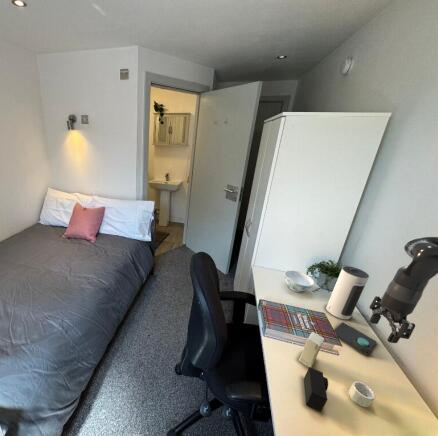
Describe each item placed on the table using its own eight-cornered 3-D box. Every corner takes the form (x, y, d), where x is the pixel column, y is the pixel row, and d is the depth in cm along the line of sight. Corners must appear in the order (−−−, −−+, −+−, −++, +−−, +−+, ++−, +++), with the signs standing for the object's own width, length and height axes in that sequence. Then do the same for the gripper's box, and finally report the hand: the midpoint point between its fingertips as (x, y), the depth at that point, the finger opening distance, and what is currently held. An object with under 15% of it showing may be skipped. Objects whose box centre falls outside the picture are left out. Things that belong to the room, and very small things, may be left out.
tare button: (368, 344, 100) (370, 342, 99) (366, 348, 98) (367, 346, 98) (358, 338, 103) (359, 336, 102) (355, 342, 101) (356, 339, 100)
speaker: (332, 317, 118) (350, 275, 108) (321, 303, 127) (337, 263, 118) (355, 321, 116) (375, 278, 107) (342, 307, 126) (360, 266, 116)
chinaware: (276, 281, 145) (279, 271, 142) (296, 279, 147) (300, 269, 145) (294, 297, 131) (298, 286, 128) (316, 295, 134) (320, 284, 131)
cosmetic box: (310, 369, 91) (320, 346, 87) (298, 360, 94) (307, 338, 90) (315, 359, 95) (325, 338, 91) (303, 352, 98) (312, 330, 94)
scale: (376, 344, 104) (379, 339, 103) (366, 357, 97) (369, 352, 96) (341, 324, 114) (343, 319, 113) (330, 334, 107) (332, 330, 106)
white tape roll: (371, 402, 81) (377, 392, 79) (366, 412, 78) (371, 402, 76) (351, 387, 85) (356, 378, 83) (345, 396, 82) (350, 386, 80)
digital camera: (325, 414, 76) (332, 401, 74) (305, 405, 79) (312, 392, 76) (320, 386, 85) (327, 373, 82) (303, 379, 87) (309, 366, 85)
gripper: (435, 313, 69) (411, 351, 75) (397, 284, 82) (379, 319, 88) (406, 308, 70) (384, 347, 76) (373, 280, 83) (357, 315, 89)
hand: (381, 332), depth 82 cm, fingers open, 8 cm apart
